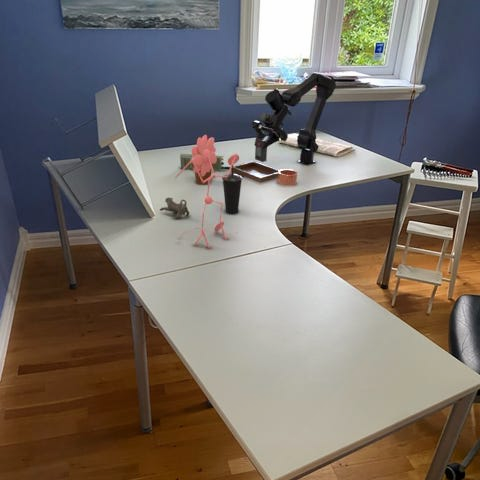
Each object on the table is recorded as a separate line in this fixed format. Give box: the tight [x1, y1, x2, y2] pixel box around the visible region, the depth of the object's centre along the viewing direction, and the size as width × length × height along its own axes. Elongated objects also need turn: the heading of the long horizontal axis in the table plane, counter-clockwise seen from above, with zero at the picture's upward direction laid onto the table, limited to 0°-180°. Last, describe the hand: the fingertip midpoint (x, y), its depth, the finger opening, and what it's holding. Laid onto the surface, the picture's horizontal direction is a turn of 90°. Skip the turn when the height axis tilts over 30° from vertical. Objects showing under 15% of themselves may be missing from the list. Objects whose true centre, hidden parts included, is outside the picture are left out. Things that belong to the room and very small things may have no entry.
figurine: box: [174, 134, 240, 249], centre depth 162 cm, size 15×26×35 cm, turn 142°
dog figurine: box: [159, 197, 190, 220], centre depth 185 cm, size 12×6×7 cm, turn 53°
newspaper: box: [277, 133, 355, 157], centre depth 266 cm, size 37×19×3 cm, turn 50°
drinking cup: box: [221, 165, 243, 215], centre depth 186 cm, size 8×8×20 cm
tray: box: [233, 160, 281, 184], centre depth 227 cm, size 14×19×3 cm
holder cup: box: [277, 168, 298, 186], centre depth 218 cm, size 8×8×5 cm
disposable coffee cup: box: [192, 155, 212, 185], centre depth 215 cm, size 10×10×12 cm
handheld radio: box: [179, 153, 230, 172], centre depth 230 cm, size 7×3×25 cm
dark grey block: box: [254, 138, 268, 163], centre depth 219 cm, size 3×5×9 cm, turn 43°
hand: (259, 146), depth 218 cm, fingers closed on dark grey block, 5 cm apart
